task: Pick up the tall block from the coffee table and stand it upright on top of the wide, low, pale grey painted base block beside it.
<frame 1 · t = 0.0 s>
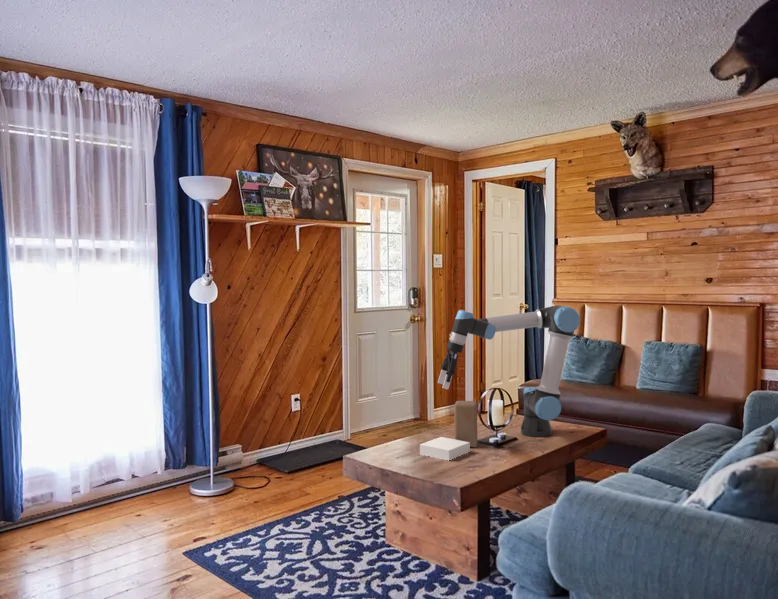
hand: (442, 386, 286), 28 cm above the table, tool tilted 20°, fingers open, 13 cm apart
base block: (445, 454, 274), on the table
block: (466, 445, 286), on the table
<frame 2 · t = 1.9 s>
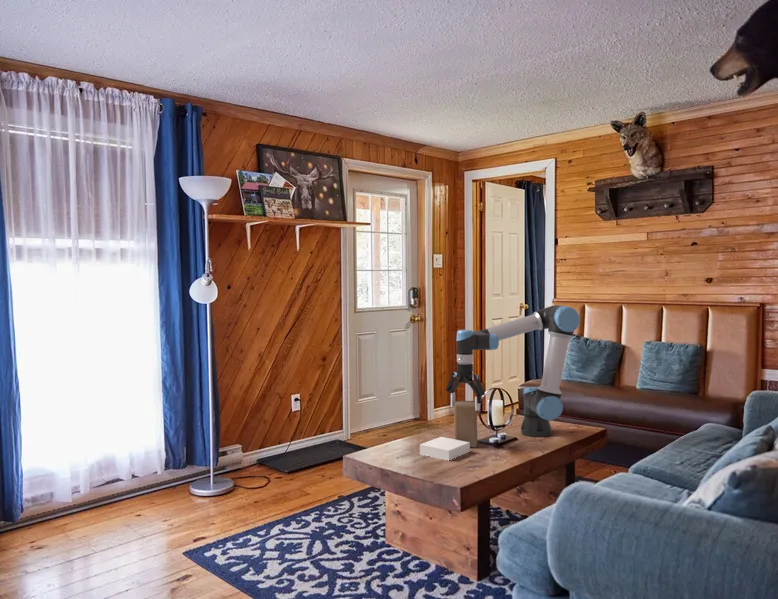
hand: (465, 408, 286), 17 cm above the table, tool pointing down, fingers open, 13 cm apart
nothing on the table moved.
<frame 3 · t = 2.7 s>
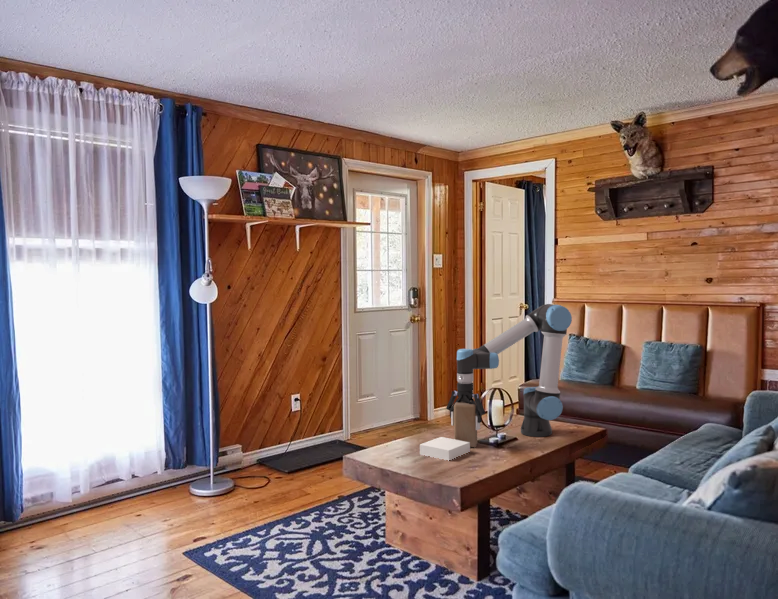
hand: (465, 427, 286), 8 cm above the table, tool pointing down, fingers open, 13 cm apart
block: (466, 445, 286), on the table, touching gripper
everything else where it was.
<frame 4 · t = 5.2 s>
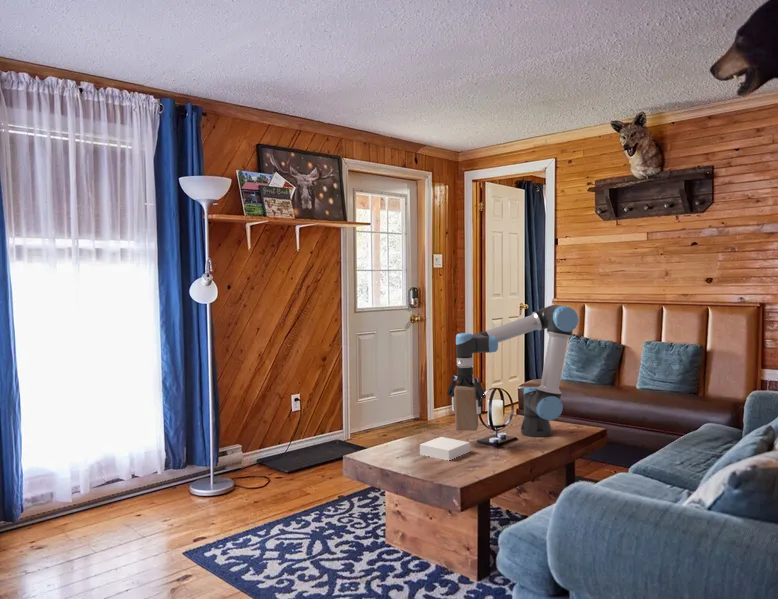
hand: (466, 411, 286), 16 cm above the table, tool pointing down, fingers closed on block, 13 cm apart
block: (467, 428, 286), point 8 cm above the table, touching gripper
everything else where it was.
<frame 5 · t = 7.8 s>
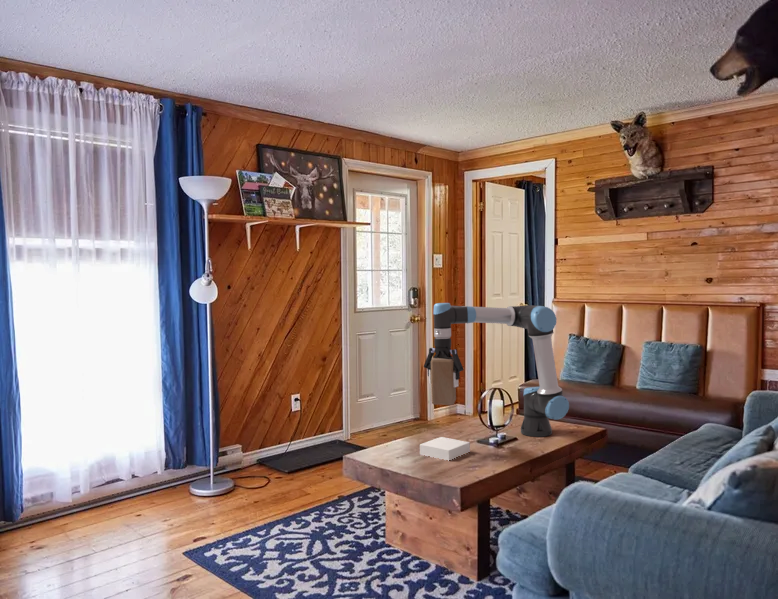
hand: (443, 385, 273), 31 cm above the table, tool pointing down, fingers closed on block, 13 cm apart
block: (444, 403, 273), point 23 cm above the table, touching gripper
everything else where it was.
when the fingers open (14 cm above the table, at t = 12.0 s): block drops 2 cm, resting on base block.
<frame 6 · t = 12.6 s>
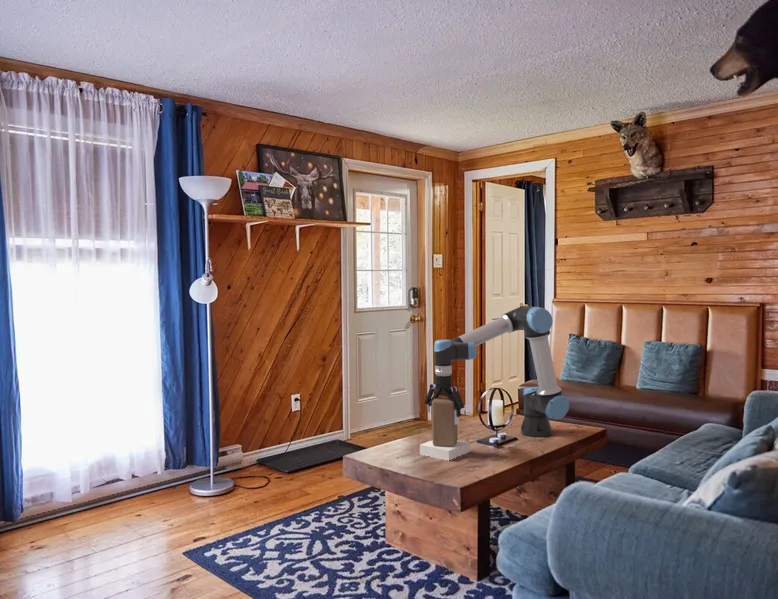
hand: (444, 422, 273), 14 cm above the table, tool pointing down, fingers open, 13 cm apart
base block: (445, 454, 274), on the table, touching block
block: (445, 444, 273), point 4 cm above the table, touching base block, gripper
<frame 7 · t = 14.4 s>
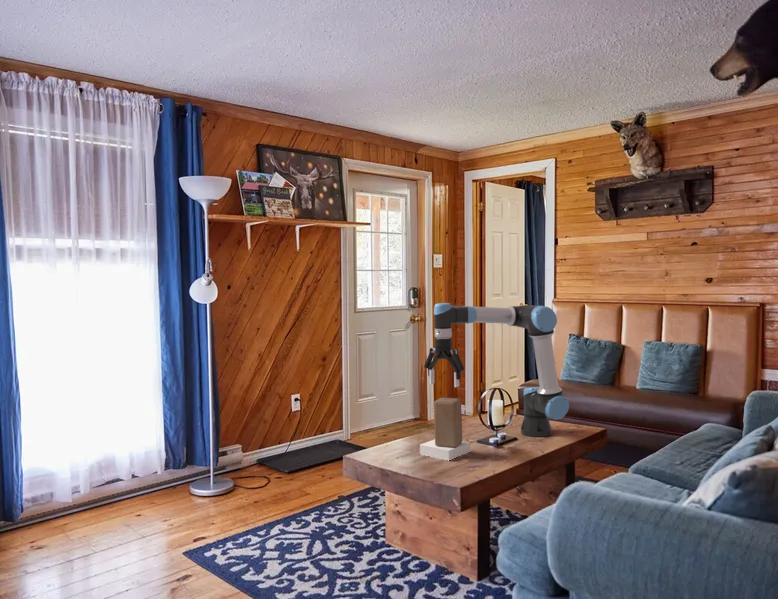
hand: (444, 385, 273), 31 cm above the table, tool pointing down, fingers open, 13 cm apart
base block: (445, 454, 274), on the table
block: (448, 444, 272), point 4 cm above the table
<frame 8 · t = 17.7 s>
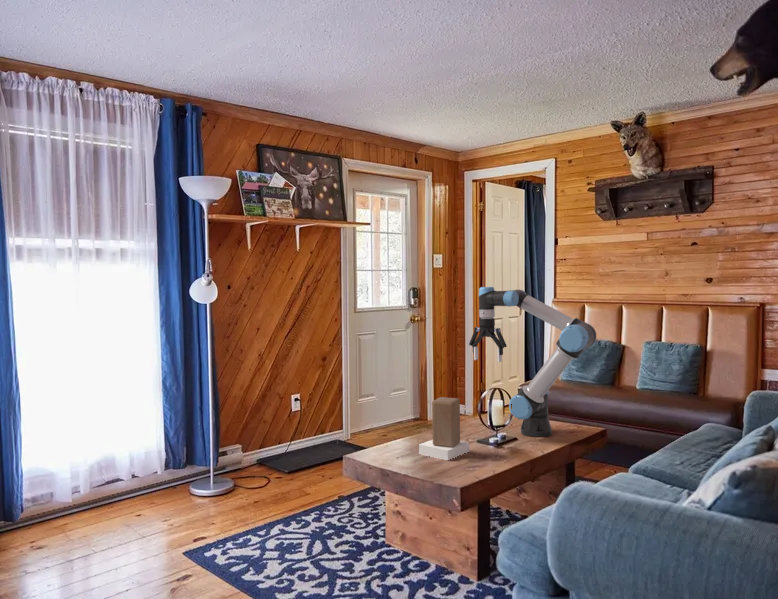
hand: (487, 360, 303), 37 cm above the table, tool pointing down, fingers open, 13 cm apart
base block: (444, 454, 274), on the table, touching block
block: (446, 444, 273), point 4 cm above the table, touching base block
at the end: block inside the target area on the base block (1.5 cm from its centre), point 4.8 cm above the base block's base; block tilted 1°; the gripper is holding nothing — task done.
